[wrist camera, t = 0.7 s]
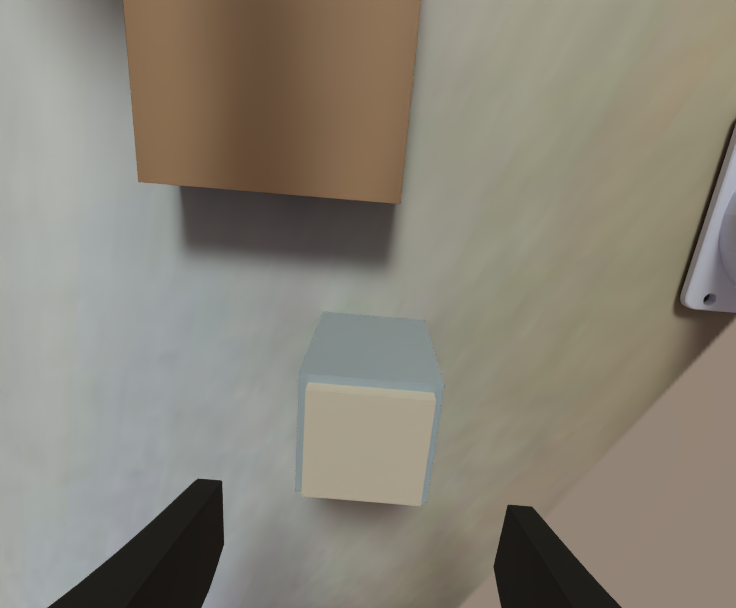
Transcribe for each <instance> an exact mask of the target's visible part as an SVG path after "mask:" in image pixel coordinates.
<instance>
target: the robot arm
mask: <svg viewBox="0 0 736 608" xmlns="http://www.w3.org/2000/svg"><path fill="white" fill-rule="evenodd" d="M708 294H709V298H708V300H707V301H705V302H703V299H704V297H705V296H706V295H708ZM680 301H681V303H682V304H683V305H684V306H686V307H688V308H691V309H695V310H707V311H719V312H731V313H736V125H735V128H734V131H733V134H732V137H731V140H730V143H729V147H728V150H727V153H726V156H725V159H724V162H723V165H722V168H721V171H720V174H719V178H718V181H717V184H716V187H715V190H714V193H713V196H712V199H711V202H710V205H709V208H708V212H707V215H706V218H705V221H704V224H703V227H702V230H701V233H700V236H699V239H698V243H697V246H696V249H695V252H694V255H693V258H692V261H691V264H690V267H689V270H688V273H687V277H686V280H685V283H684V286H683V289H682V292H681V295H680ZM223 546H224V527H223V494H222V481H220V480H208V479H197V480H196V481H194V482H193V483H192V484H191V485H190V486H189V487H188V488H187V489H186V490H185V491H184V492H183V493H181V494H180V495H179V496H178V497H177V498H176V499H175V500H174V501H173V502H172V503H171V504H170V505H169V506H168V507H167V508H166V509H164V510H163V511H162V512H161V513H160V514H159V515H158V516H157V517H156V518H155V519H154V520H153V521H152V522H150V523H149V524H148V525H147V526H146V527H145V528H144V529H143V530H141V531H140V532H139V533H138V534H137V535H136V536H135V537H134V538H132V539H131V540H130V541H129V542H128V543H127V544H126V545H125V546H123V547H122V548H121V549H120V550H119V551H118V552H117V553H115V554H114V555H113V556H112V557H110V558H109V559H108V560H107V561H106V562H104V563H103V564H102V565H101V566H100V567H98V568H97V569H96V570H95V571H94V572H92V573H91V574H90V575H89V576H87V577H86V578H85V579H84V580H83V581H81V582H80V583H79V584H78V585H76V586H75V587H74V588H72V589H71V590H70V591H69V592H67V593H66V594H65V595H63V596H62V597H61V598H60V599H58V600H57V601H56V602H54V603H53V604H52V605H50V606H49V607H48V608H201V607H202V605H203V603H204V600H205V598H206V596H207V593H208V591H209V589H210V586H211V583H212V580H213V577H214V574H215V571H216V568H217V565H218V562H219V558H220V555H221V552H222V549H223ZM494 572H495V577H496V582H497V587H498V593H499V598H500V603H501V607H502V608H621V607H620V605H619V604H618V603H617V602H616V601H615V600H614V599H613V598H612V597H611V596H610V595H609V594H608V593H607V592H606V591H605V589H604V588H603V587H602V586H601V585H600V584H599V583H598V582H597V581H596V580H595V579H594V577H593V576H592V575H591V574H590V573H589V572H588V571H587V570H586V568H585V567H584V566H583V565H582V564H581V563H580V562H579V561H578V559H577V558H576V557H575V556H574V555H573V554H572V553H571V551H570V550H569V549H568V548H567V547H566V546H565V545H564V543H563V542H562V541H561V540H560V539H559V537H558V536H557V535H556V534H555V533H554V532H553V530H552V529H551V528H550V527H549V526H548V525H547V523H546V522H545V521H544V520H543V519H542V518H541V516H540V515H539V514H538V513H537V512H536V511H535V510H534V508H533V507H529V506H518V505H508V506H507V510H506V515H505V519H504V523H503V528H502V532H501V536H500V541H499V545H498V549H497V554H496V558H495V563H494Z"/></svg>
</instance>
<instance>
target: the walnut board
mask: <svg viewBox="0 0 736 608" xmlns="http://www.w3.org/2000/svg"><path fill="white" fill-rule="evenodd" d="M123 6H124V17H125V29H126V41H127V53H128V65H129V77H130V88H131V100H132V112H133V124H134V136H135V148H136V159H137V171H138V182H145V183H157V184H169V185H181V186H193V187H204V188H216V189H228V190H240V191H252V192H264V193H276V194H288V195H300V196H311V197H323V198H335V199H347V200H359V201H371V202H383V203H395V204H400V203H401V193H402V183H403V173H404V164H405V154H406V144H407V134H408V124H409V114H410V104H411V95H412V85H413V75H414V65H415V55H416V45H417V36H418V26H419V16H420V6H421V0H123Z"/></svg>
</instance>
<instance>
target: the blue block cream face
mask: <svg viewBox="0 0 736 608" xmlns="http://www.w3.org/2000/svg"><path fill="white" fill-rule="evenodd" d="M444 387H445V384H444V381H443V378H442V374H441V371H440V368H439V365H438V361H437V358H436V355H435V352H434V348H433V345H432V342H431V339H430V336H429V332H428V329H427V326H426V323H425V320H417V319H405V318H393V317H381V316H369V315H357V314H345V313H333V312H323V313H322V315H321V318H320V321H319V323H318V326H317V328H316V331H315V333H314V336H313V338H312V341H311V343H310V346H309V349H308V351H307V354H306V356H305V359H304V361H303V364H302V366H301V369H300V371H299V385H298V416H297V446H296V477H295V492H301V496H305V497H317V498H329V499H341V500H353V501H365V502H377V503H389V504H402V505H414V506H421V502H424V503H427V498H428V492H429V485H430V478H431V472H432V465H433V459H434V452H435V446H436V439H437V433H438V426H439V420H440V413H441V407H442V400H443V394H444Z"/></svg>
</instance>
